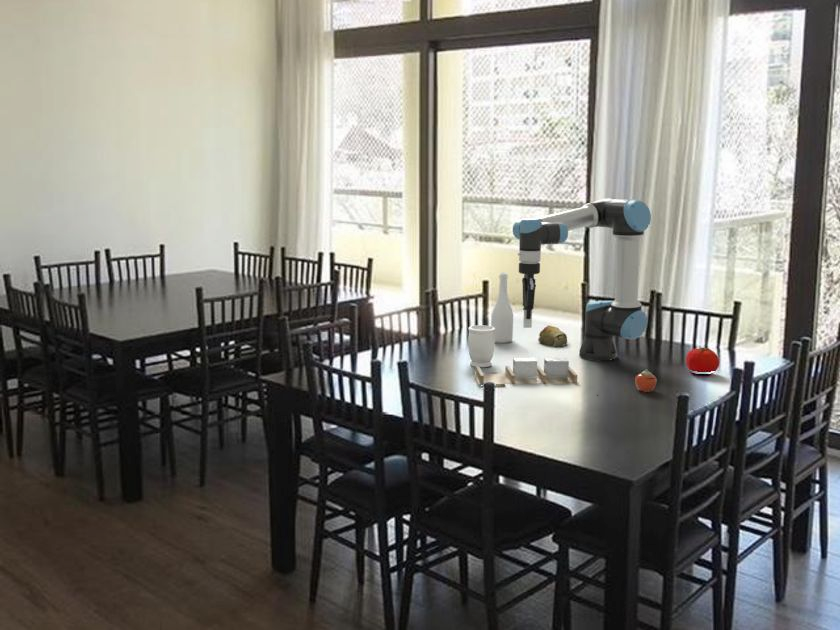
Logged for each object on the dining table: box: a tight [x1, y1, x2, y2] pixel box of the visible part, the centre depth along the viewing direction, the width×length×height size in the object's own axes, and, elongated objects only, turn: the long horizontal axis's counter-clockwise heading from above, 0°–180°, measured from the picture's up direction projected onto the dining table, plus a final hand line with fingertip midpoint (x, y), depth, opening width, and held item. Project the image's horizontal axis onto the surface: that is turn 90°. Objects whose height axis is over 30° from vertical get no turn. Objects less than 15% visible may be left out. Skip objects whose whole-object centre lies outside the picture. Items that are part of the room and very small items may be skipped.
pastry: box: [537, 325, 568, 348], centre depth 380 cm, size 14×12×8 cm
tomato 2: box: [685, 345, 720, 372], centre depth 331 cm, size 11×13×10 cm
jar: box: [467, 324, 496, 368], centre depth 340 cm, size 11×10×15 cm
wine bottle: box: [490, 272, 514, 344], centre depth 381 cm, size 10×10×30 cm
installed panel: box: [543, 357, 570, 380], centre depth 318 cm, size 8×4×7 cm, turn 94°
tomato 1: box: [634, 368, 658, 392], centre depth 307 cm, size 7×7×8 cm
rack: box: [473, 365, 579, 388], centre depth 317 cm, size 36×15×4 cm, turn 94°
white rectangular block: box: [512, 357, 538, 380], centre depth 317 cm, size 8×4×7 cm, turn 94°
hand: (527, 327), depth 315 cm, fingers closed
